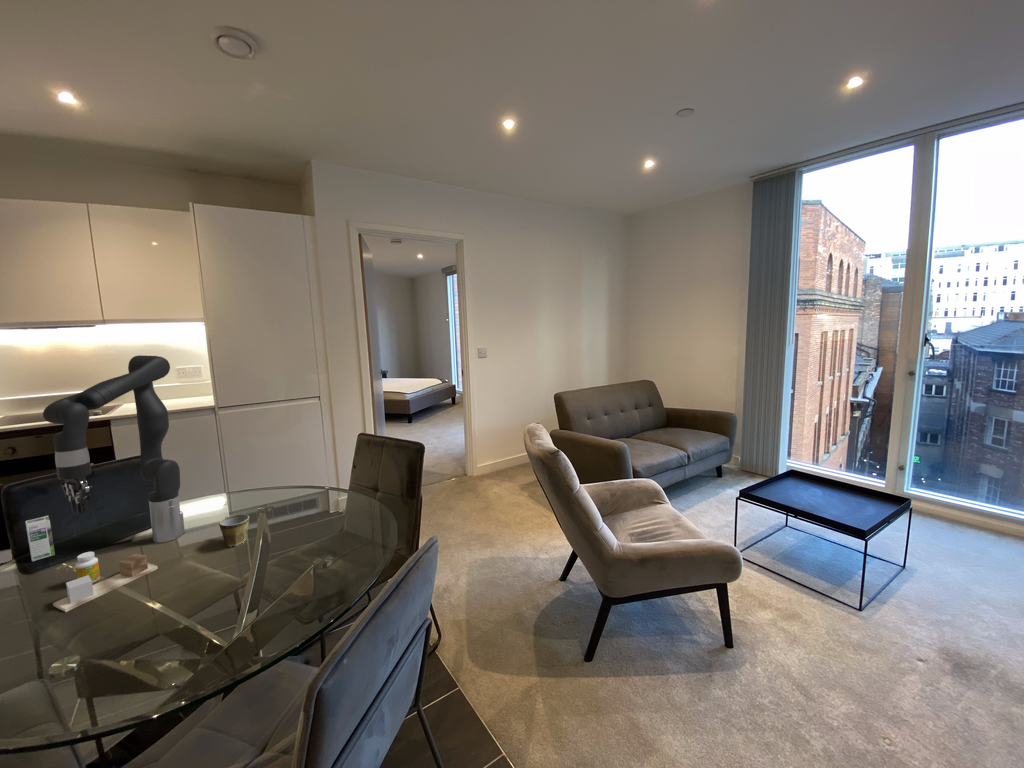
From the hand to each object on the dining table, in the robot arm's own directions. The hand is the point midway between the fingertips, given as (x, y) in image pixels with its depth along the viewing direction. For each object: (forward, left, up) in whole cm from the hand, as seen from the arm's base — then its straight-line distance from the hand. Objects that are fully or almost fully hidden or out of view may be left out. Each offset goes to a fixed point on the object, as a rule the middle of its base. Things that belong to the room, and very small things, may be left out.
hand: (79, 511), depth 133 cm
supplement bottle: (0, 0, -25) cm, 25 cm away
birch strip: (-1, +10, -25) cm, 27 cm away
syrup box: (-2, -35, -25) cm, 43 cm away
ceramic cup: (-36, +20, -25) cm, 48 cm away
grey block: (+6, +10, -24) cm, 27 cm away
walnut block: (-8, +10, -24) cm, 27 cm away
